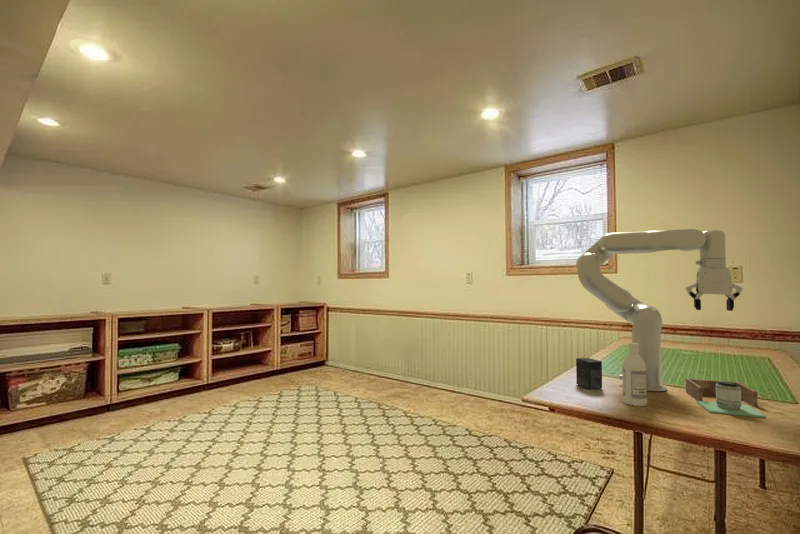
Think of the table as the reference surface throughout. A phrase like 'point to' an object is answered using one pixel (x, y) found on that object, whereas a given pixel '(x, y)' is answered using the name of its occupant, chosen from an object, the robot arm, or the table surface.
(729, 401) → the camera lens
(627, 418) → the table surface
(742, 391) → the cubby
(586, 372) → the box
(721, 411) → the cutting mat
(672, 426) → the table surface
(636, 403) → the bath foam
